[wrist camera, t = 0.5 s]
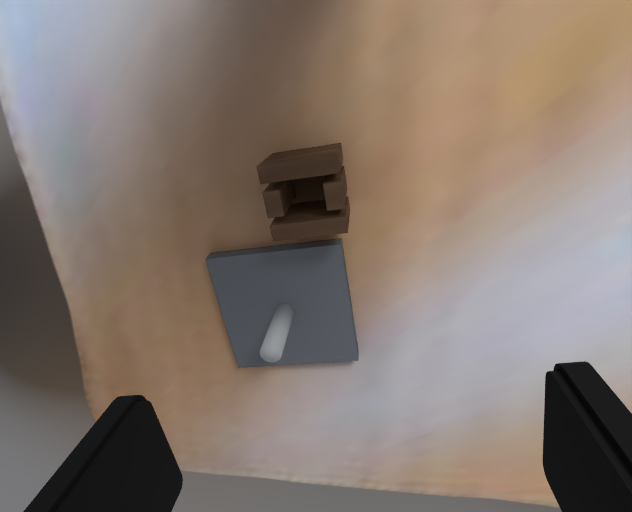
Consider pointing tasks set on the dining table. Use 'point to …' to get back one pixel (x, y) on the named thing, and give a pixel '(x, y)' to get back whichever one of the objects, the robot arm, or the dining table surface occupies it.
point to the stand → (286, 303)
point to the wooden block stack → (312, 214)
